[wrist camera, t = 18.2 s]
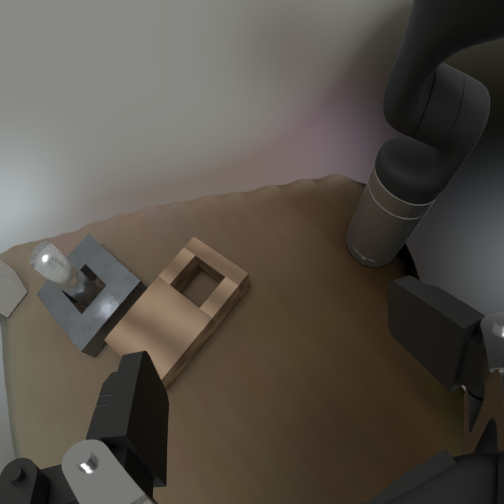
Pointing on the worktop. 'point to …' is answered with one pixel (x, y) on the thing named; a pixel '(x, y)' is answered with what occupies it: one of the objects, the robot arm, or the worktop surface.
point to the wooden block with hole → (179, 311)
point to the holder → (103, 306)
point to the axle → (63, 273)
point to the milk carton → (10, 289)
